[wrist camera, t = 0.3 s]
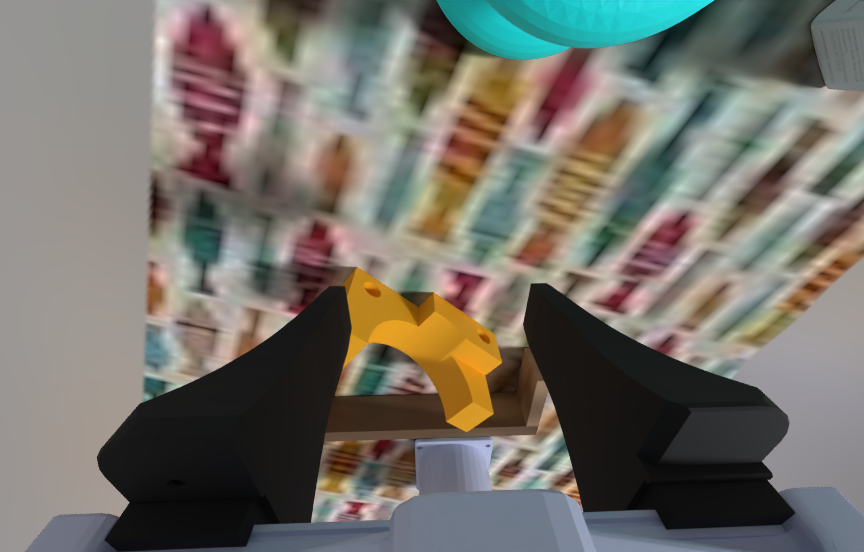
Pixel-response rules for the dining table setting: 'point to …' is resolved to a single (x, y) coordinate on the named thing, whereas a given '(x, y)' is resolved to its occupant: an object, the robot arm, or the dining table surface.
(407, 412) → the bracket
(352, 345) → the pipe clamp
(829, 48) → the skincare box
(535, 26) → the donuts
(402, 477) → the dining table surface
